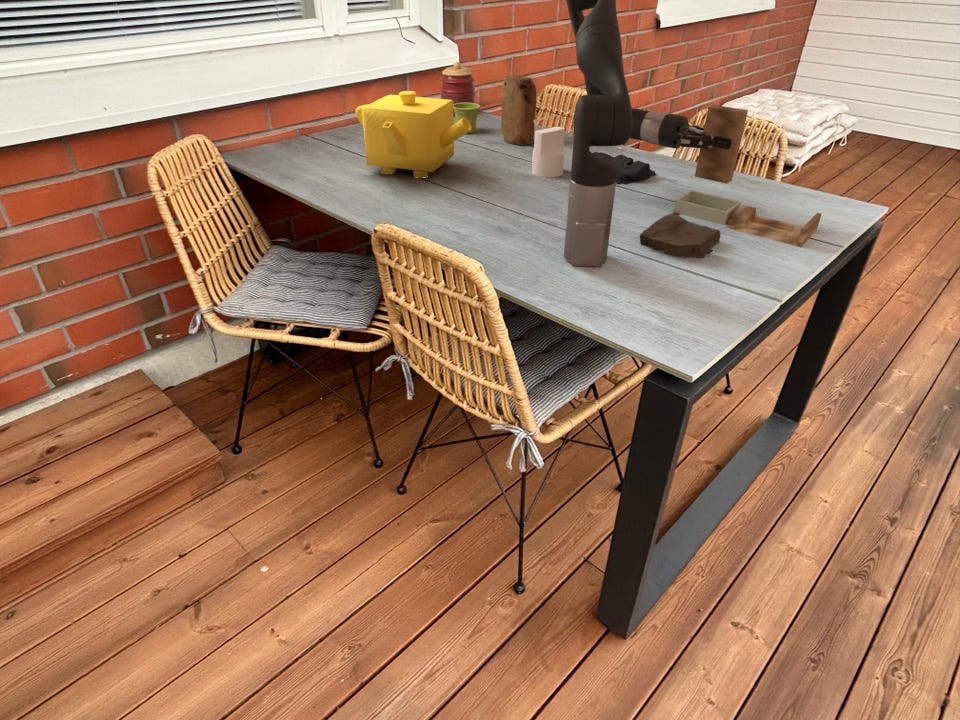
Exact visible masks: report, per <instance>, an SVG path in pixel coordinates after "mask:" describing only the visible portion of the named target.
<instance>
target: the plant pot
mask: <svg viewBox="0 0 960 720" xmlns="http://www.w3.org/2000/svg"><path fill="white" fill-rule="evenodd" d="M453 108H454V112H455V116H454V117H455V123H456V122H458V121H459V120H460V119H462V118H466V119H467V120H468V121H469V123H470V125H471V128H472V129H471V130H470V131H469V132H467V133H466V134H465V135H469V134H468V133H471V134H474V133H475V132H476V127H477V120H478V114H479V111H480V108H481V105H480V104H478V103H475V102H474V103H456V104H453Z"/></svg>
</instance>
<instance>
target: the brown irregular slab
mask: <svg viewBox="0 0 960 720" xmlns="http://www.w3.org/2000/svg"><path fill="white" fill-rule="evenodd" d="M720 241H721V231H720V230H719V229H715V228H711V227H710V226H707V225H699V224H696V223H693V222H691V221H688V220H687V219H686V218H683V217H682V216H681V215H676V214H673V212H672V213H667V214H666V215H664V216H662V217H660V218H659V219H657V220H656V221H655V222H654V223H652V224H650V225H649V227H648V228H646V229H644V230H643V231H642V232H641V233H640V234H639V243H640V245H641V246H645V247H648V248H651V249H652V250H654V251H657V252H662V253H664V254H667V255H672V256H675V257H681V258H690V257H691V258H698V259H704V258H706V256H707V255H708V254H709V253H710V254H711V253H712V252H714V251H713V249H712V248H713V247H716V245H718V244H719V243H720Z"/></svg>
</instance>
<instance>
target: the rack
mask: <svg viewBox="0 0 960 720" xmlns="http://www.w3.org/2000/svg"><path fill="white" fill-rule="evenodd" d="M756 209H757V207H753V206H751V205H745V204H743V205H742V206H740V208H739V209H738V210H737V211H736V212H734V213H733V214H732V215H731V216H730V220H729V221H728V223H727V224H725V225H724V228H725V229H729V230H733V231H737V232H740V233H744V234H748V235H751V236H752V235H753V236H757V237H760V238H764V239H768V240H772V241H775V242H780V243H783V244H788V245H790V246H791V245H792V246H795V247H799V248H801V247H803V245H804V244H806V242H807V241H808V240H809V239H810V238H812V236H813V235H814V234H815V233H816V232H817V229H818V226H819V223H820V222H821V218H822V213H819V212H816V213H815V214H814V215H813V217H811V219H809V220H808V221H807V222H806V224H805V225H803V226H801V225H797V224H793V223H789V222H784V221H780V220H776V219H772V218H768V217H764V216H760V215H758V214H757V210H756Z"/></svg>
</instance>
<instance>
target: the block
mask: <svg viewBox="0 0 960 720" xmlns="http://www.w3.org/2000/svg"><path fill="white" fill-rule="evenodd" d="M501 90H502V91H501V113H500V114H501V115H500V117H501V118H500V120H501V122H500V125H501V126H500V129H501V130H500V131H501V133H502V135H503V136H502V139H503V141H504V142H505V143H507V142H508V143H507V144H511V145H518V146H527V145H530V144H532V143H533V141H534V140H535V121H534V120H535V118H536V110H537V88H536V85H535V83H534V80H533V79H532V77H529V76H526V75H525V76H524V75H514V76H511V75H509V76H505V77H504V78H503V82H502V89H501Z"/></svg>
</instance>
